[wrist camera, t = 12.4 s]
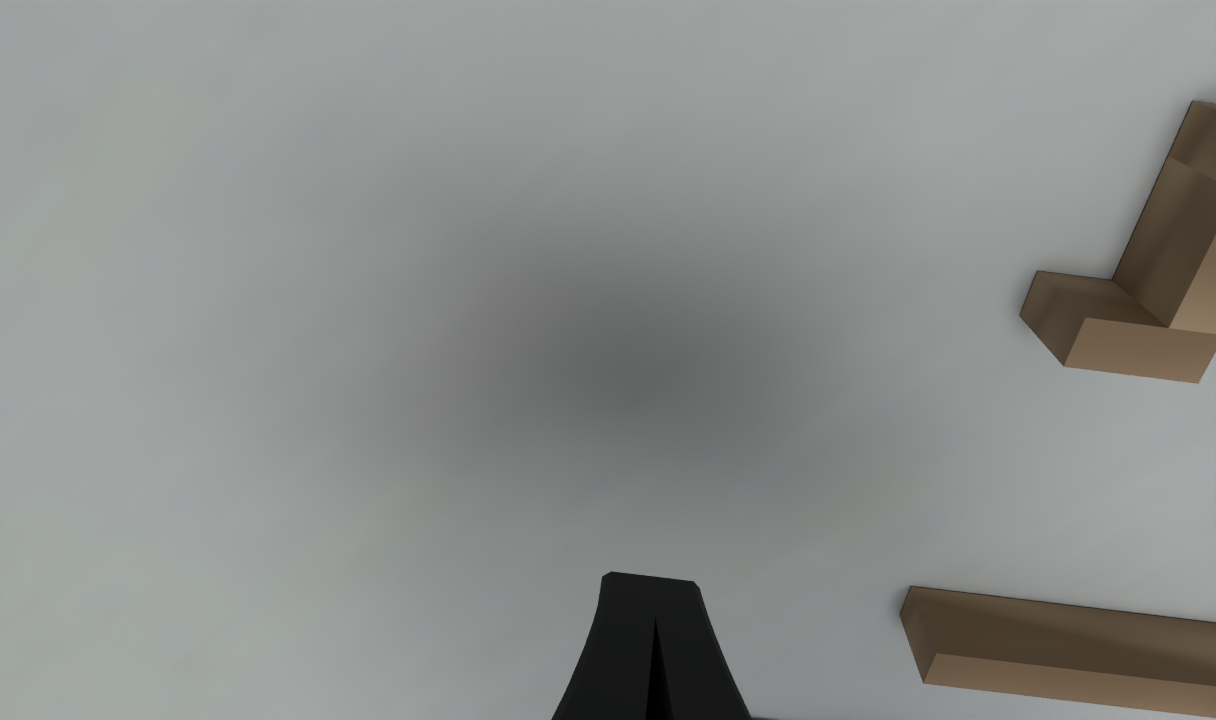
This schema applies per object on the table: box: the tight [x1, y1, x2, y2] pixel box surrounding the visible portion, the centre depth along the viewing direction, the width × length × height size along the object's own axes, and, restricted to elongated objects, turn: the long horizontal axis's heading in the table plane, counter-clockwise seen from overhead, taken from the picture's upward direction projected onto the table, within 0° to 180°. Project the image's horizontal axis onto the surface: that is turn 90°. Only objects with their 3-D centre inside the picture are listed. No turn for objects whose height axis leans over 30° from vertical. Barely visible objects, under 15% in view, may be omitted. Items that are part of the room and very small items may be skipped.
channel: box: [900, 101, 1216, 718], centre depth 21 cm, size 16×10×2 cm, turn 173°
